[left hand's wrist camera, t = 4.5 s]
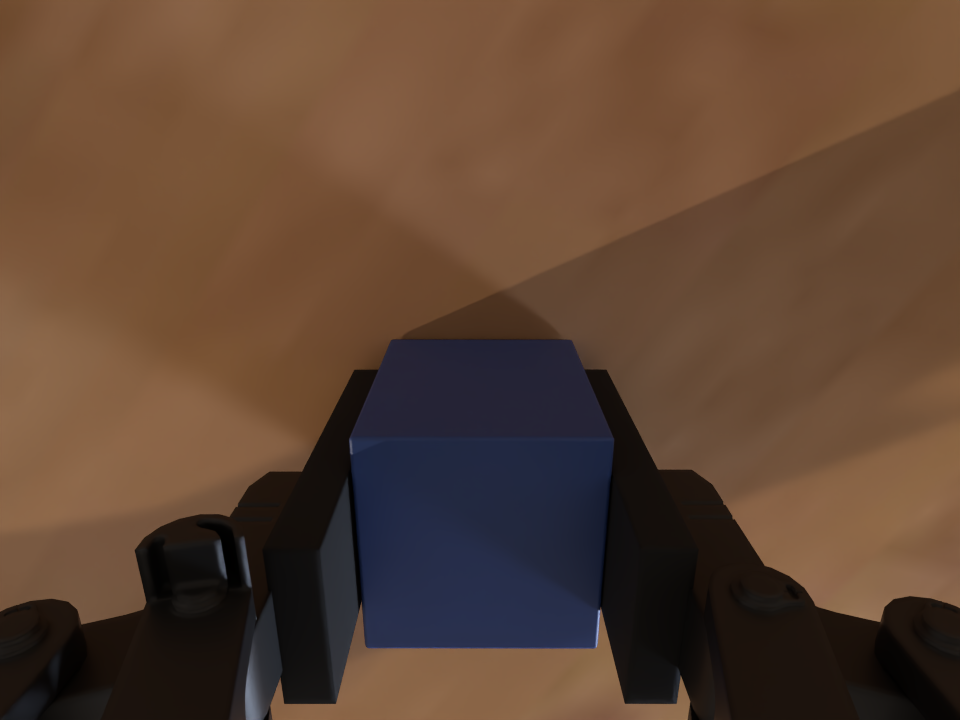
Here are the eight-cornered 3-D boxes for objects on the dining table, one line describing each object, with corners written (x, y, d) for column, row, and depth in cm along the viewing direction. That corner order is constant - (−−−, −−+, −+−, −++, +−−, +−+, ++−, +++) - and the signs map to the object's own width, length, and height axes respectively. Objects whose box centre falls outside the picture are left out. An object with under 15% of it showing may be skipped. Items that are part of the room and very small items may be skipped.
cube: (390, 338, 14) (347, 437, 10) (572, 338, 14) (615, 438, 10) (398, 497, 16) (364, 650, 11) (563, 497, 16) (597, 650, 11)
